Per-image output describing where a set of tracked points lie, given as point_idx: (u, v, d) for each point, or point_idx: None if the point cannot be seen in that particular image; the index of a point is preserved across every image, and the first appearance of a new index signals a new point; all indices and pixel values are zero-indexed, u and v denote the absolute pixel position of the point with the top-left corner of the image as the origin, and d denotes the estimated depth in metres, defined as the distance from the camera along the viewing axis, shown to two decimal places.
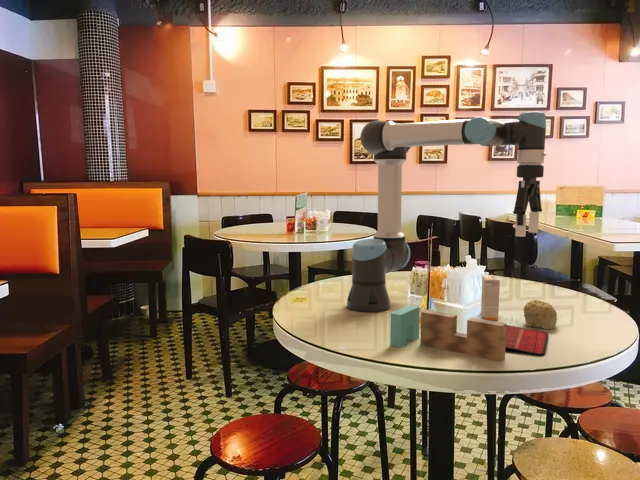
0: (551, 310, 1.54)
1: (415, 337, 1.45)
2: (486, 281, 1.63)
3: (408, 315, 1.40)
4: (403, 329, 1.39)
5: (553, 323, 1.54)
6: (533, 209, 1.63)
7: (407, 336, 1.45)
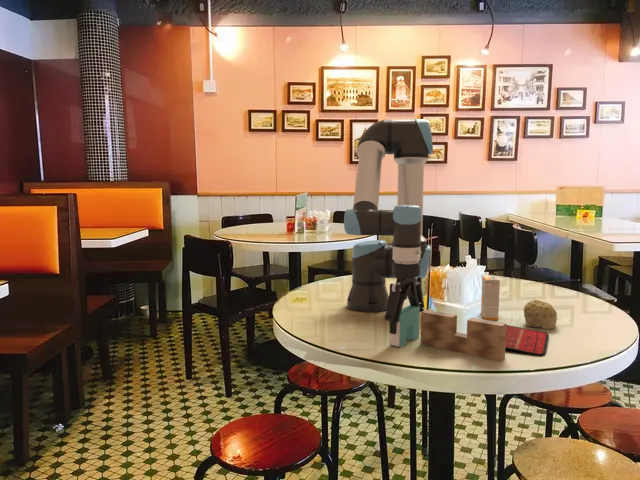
0: (551, 310, 1.54)
1: (415, 337, 1.45)
2: (486, 281, 1.63)
3: (408, 315, 1.40)
4: (403, 329, 1.39)
5: (553, 323, 1.54)
6: None
7: (407, 336, 1.45)
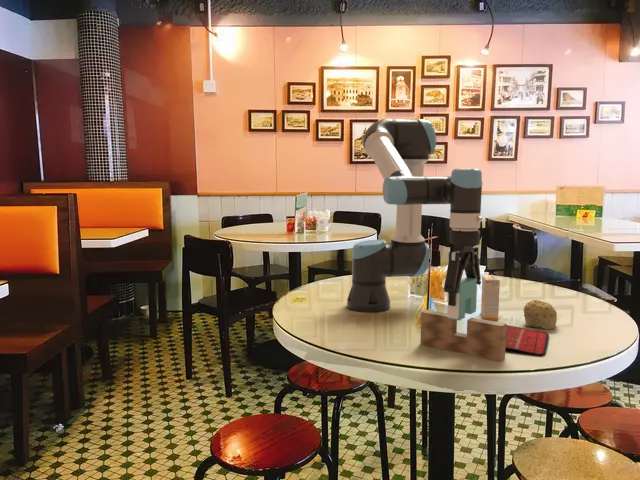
0: (551, 310, 1.54)
1: (472, 311, 1.36)
2: (486, 281, 1.63)
3: (466, 286, 1.31)
4: (462, 301, 1.30)
5: (553, 323, 1.54)
6: None
7: None
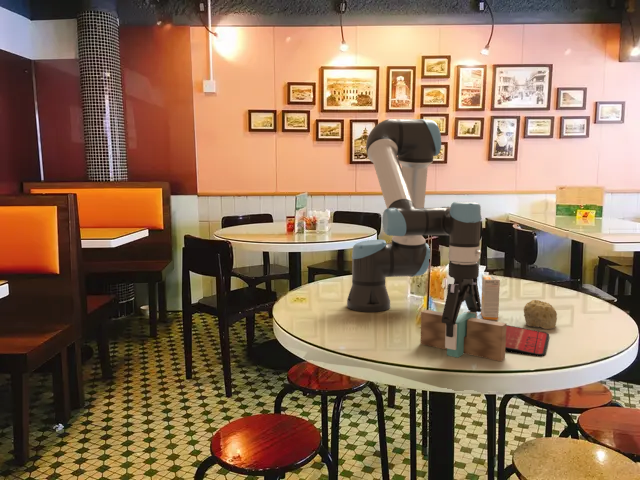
0: (551, 310, 1.54)
1: None
2: (486, 281, 1.63)
3: (465, 323, 1.32)
4: (461, 338, 1.31)
5: (553, 323, 1.54)
6: (471, 309, 1.40)
7: None
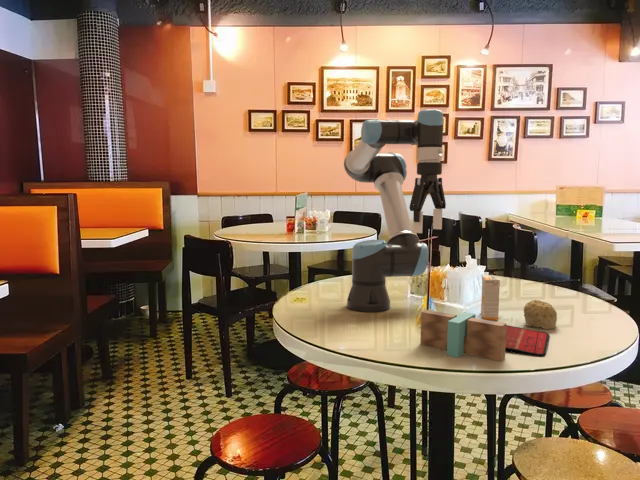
0: (551, 310, 1.54)
1: None
2: (486, 281, 1.63)
3: (465, 323, 1.32)
4: (461, 338, 1.31)
5: (553, 323, 1.54)
6: (437, 206, 1.65)
7: None
